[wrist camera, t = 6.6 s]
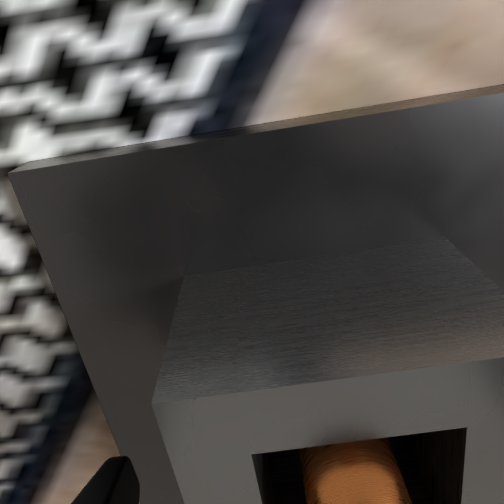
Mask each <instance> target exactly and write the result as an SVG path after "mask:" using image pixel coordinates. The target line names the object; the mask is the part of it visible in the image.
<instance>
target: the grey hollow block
mask: <svg viewBox="0 0 504 504" xmlns="http://www.w3.org/2000/svg"><path fill="white" fill-rule="evenodd" d="M151 405H152V408H153V411H154V414H155V417H156V420H157V423H158V426H159V429H160V432H161V435H162V438H163V441H164V444H165V447H166V450H167V453H168V456H169V459H170V462H171V465H172V468H173V471H174V474H175V477H176V480H177V483H178V486H179V489H180V492H181V494H182V497H183V500H184V503H185V504H307V503H306V496H305V489H304V482H303V475H302V467H301V460H300V453H299V448H306V447H314V446H322V445H330V444H338V443H346V442H354V441H362V440H370V439H378V438H386V437H388V440H389V443H390V445H391V448H392V451H393V454H394V456H395V459H396V462H397V464H398V467H399V470H400V472H401V475H402V478H403V480H404V483H405V486H406V488H407V491H408V494H409V497H410V499H411V502H412V504H504V292H503V291H502V290H501V289H500V288H499V287H498V286H497V285H496V284H495V283H494V282H493V281H492V280H490V279H489V278H488V277H487V276H486V275H485V274H484V273H483V272H482V271H481V270H480V269H479V268H478V267H477V266H475V265H474V264H473V263H472V262H471V261H470V260H469V259H468V258H467V257H466V256H465V255H464V254H463V253H462V252H460V251H459V250H458V249H457V248H456V247H455V246H454V245H453V244H452V243H451V242H450V241H449V240H448V239H447V238H441V239H434V240H427V241H420V242H414V243H407V244H400V245H393V246H386V247H379V248H373V249H366V250H359V251H352V252H345V253H338V254H332V255H325V256H318V257H311V258H304V259H297V260H291V261H284V262H277V263H270V264H263V265H256V266H250V267H243V268H236V269H229V270H222V271H215V272H209V273H202V274H195V275H188V276H184V278H183V282H182V286H181V290H180V294H179V298H178V302H177V306H176V309H175V313H174V317H173V321H172V325H171V329H170V333H169V337H168V341H167V345H166V348H165V352H164V356H163V360H162V364H161V368H160V372H159V376H158V380H157V384H156V387H155V391H154V395H153V399H152V403H151Z"/></svg>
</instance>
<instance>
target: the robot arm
mask: <svg viewBox="0 0 504 504" xmlns="http://www.w3.org/2000/svg"><path fill="white" fill-rule="evenodd" d="M139 498H140V484H139V480H138V477H137V475H136V472H135V470H134V467H133V465H132V462H131V460H130V458H129V457H128V456H119V457H112V458H109V459H108V460H107V461H106V462H105V463H104V464H103V465H102V466H101V468H100V469H99V470H98V471H97V472H96V474H95V475H94V476H93V477H92V479H91V480H90V481H89V482H88V483H87V485H86V486H85V487H84V488H83V490H82V491H81V492H80V493H79V494H78V496H77V497H76V498H75V499H74V501H73V502H72V503H71V504H139Z"/></svg>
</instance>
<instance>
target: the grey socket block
mask: <svg viewBox="0 0 504 504" xmlns="http://www.w3.org/2000/svg"><path fill="white" fill-rule="evenodd" d="M8 176H9V178H10V181H11V183H12V186H13V188H14V191H15V193H16V196H17V198H18V201H19V203H20V206H21V208H22V211H23V213H24V216H25V218H26V221H27V223H28V226H29V228H30V231H31V233H32V235H33V238H34V240H35V243H36V245H37V248H38V250H39V253H40V255H41V258H42V260H43V263H44V265H45V268H46V270H47V273H48V275H49V278H50V280H51V283H52V285H53V288H54V290H55V293H56V295H57V298H58V300H59V303H60V305H61V308H62V310H63V313H64V315H65V317H66V320H67V322H68V325H69V327H70V330H71V332H72V335H73V337H74V340H75V342H76V345H77V347H78V350H79V352H80V355H81V357H82V360H83V362H84V365H85V367H86V370H87V372H88V375H89V377H90V380H91V382H92V385H93V387H94V390H95V392H96V395H97V397H98V400H99V402H100V404H101V407H102V409H103V412H104V414H105V417H106V419H107V422H108V424H109V427H110V429H111V432H112V434H113V437H114V439H115V442H116V444H117V447H118V449H119V452H120V454H121V456H128V457H129V458H130V460H131V462H132V465H133V467H134V470H135V472H136V475H137V477H138V480H139V484H140V498H139V501H140V504H185V503H184V500H183V497H182V494H181V492H180V489H179V486H178V483H177V480H176V477H175V474H174V471H173V468H172V465H171V462H170V459H169V456H168V453H167V450H166V447H165V444H164V441H163V438H162V435H161V432H160V429H159V426H158V423H157V420H156V417H155V414H154V411H153V408H152V405H151V403H152V399H153V395H154V391H155V387H156V384H157V380H158V376H159V372H160V368H161V364H162V360H163V356H164V352H165V348H166V345H167V341H168V337H169V333H170V329H171V325H172V321H173V317H174V313H175V309H176V306H177V302H178V298H179V294H180V290H181V286H182V282H183V278H184V276H188V275H195V274H202V273H209V272H215V271H222V270H229V269H236V268H243V267H250V266H256V265H263V264H270V263H277V262H284V261H291V260H297V259H304V258H311V257H318V256H325V255H332V254H338V253H345V252H352V251H359V250H366V249H373V248H379V247H386V246H393V245H400V244H407V243H414V242H420V241H427V240H434V239H441V238H447V239H448V240H449V241H450V242H451V243H452V244H453V245H454V246H455V247H456V248H457V249H458V250H459V251H460V252H462V253H463V254H464V255H465V256H466V257H467V258H468V259H469V260H470V261H471V262H472V263H473V264H474V265H475V266H477V267H478V268H479V269H480V270H481V271H482V272H483V273H484V274H485V275H486V276H487V277H488V278H489V279H490V280H492V281H493V282H494V283H495V284H496V285H497V286H498V287H499V288H500V289H501V290H502V291H503V292H504V84H503V85H497V86H491V87H485V88H478V89H472V90H466V91H460V92H454V93H448V94H442V95H435V96H429V97H423V98H417V99H411V100H405V101H399V102H392V103H386V104H380V105H374V106H368V107H362V108H356V109H349V110H343V111H337V112H331V113H325V114H319V115H313V116H306V117H300V118H294V119H288V120H282V121H276V122H270V123H263V124H257V125H251V126H245V127H239V128H233V129H227V130H220V131H214V132H208V133H202V134H196V135H190V136H184V137H177V138H171V139H165V140H159V141H153V142H147V143H141V144H134V145H128V146H122V147H116V148H110V149H104V150H98V151H91V152H85V153H79V154H73V155H67V156H61V157H55V158H48V159H42V160H36V161H30V162H27V163H26V164H24V165H22V166H20V167H18V168H16V169H14V170H12V171H11V172H9V173H8ZM299 453H300V460H301V467H302V475H303V482H304V489H305V496H306V503H307V504H412V502H411V499H410V497H409V494H408V491H407V488H406V486H405V483H404V480H403V478H402V475H401V472H400V470H399V467H398V464H397V462H396V459H395V456H394V454H393V451H392V448H391V445H390V443H389V440H388V437H386V438H378V439H370V440H362V441H354V442H346V443H338V444H330V445H322V446H314V447H306V448H299Z"/></svg>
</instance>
